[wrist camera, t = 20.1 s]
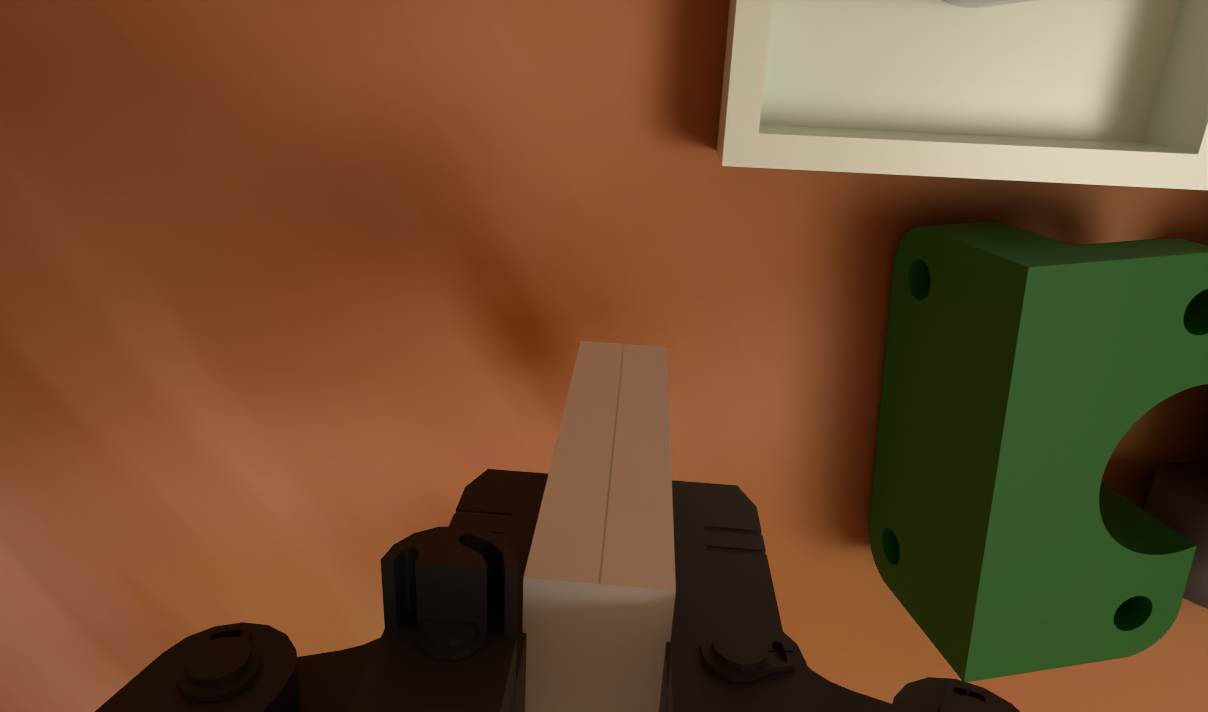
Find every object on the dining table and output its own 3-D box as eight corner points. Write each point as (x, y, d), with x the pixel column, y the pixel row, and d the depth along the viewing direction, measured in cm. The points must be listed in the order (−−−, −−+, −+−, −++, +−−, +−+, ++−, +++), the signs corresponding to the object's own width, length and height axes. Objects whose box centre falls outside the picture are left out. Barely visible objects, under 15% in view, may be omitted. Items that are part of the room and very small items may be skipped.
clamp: (981, 437, 29) (1136, 678, 23) (825, 455, 29) (942, 710, 22) (1142, 141, 21) (1457, 389, 15) (929, 154, 20) (1164, 422, 14)
